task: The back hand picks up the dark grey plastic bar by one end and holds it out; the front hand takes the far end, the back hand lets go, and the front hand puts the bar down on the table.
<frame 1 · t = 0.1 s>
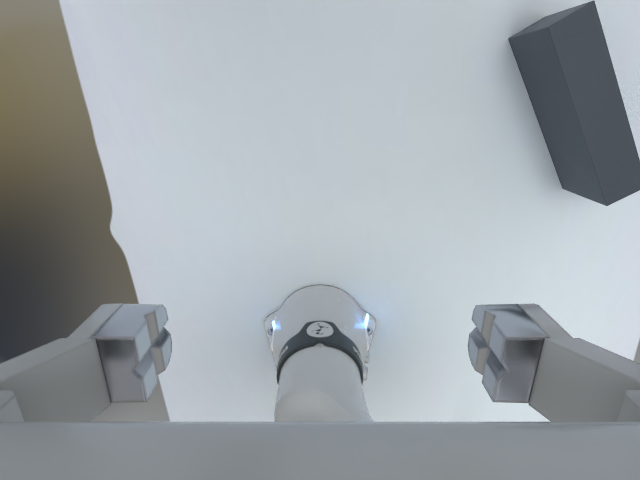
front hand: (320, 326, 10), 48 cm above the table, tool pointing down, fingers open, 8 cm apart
bar: (554, 109, 54), on the table
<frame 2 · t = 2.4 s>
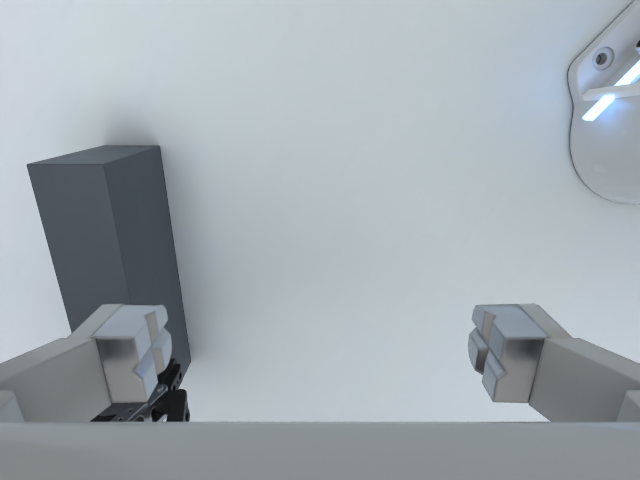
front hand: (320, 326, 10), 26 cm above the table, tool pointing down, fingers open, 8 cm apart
bar: (151, 265, 38), on the table, touching back hand
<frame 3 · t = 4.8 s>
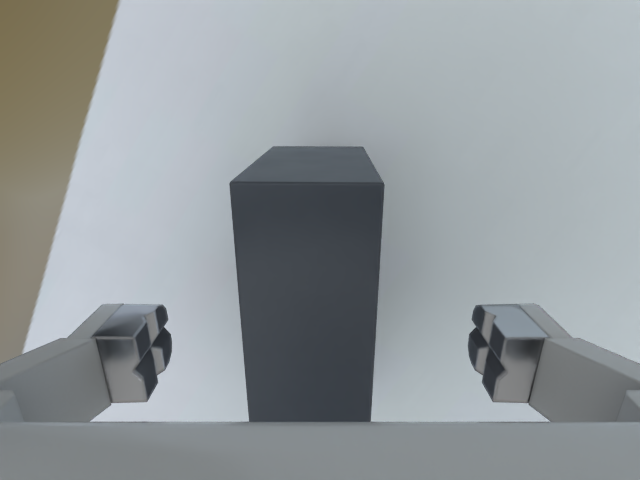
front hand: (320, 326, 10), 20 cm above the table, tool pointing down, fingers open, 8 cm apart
bar: (318, 326, 25), point 7 cm above the table, touching back hand
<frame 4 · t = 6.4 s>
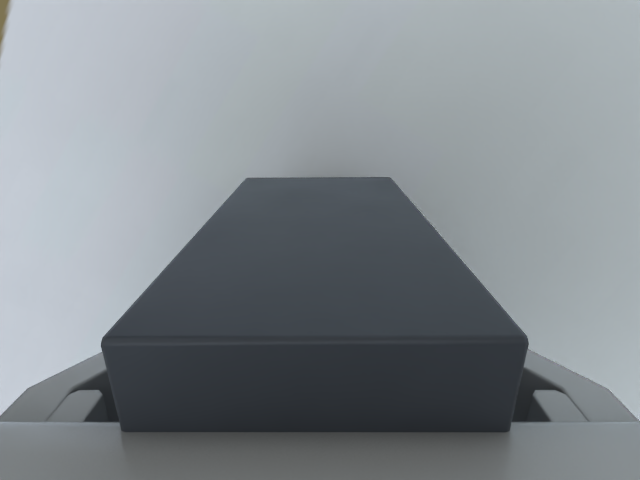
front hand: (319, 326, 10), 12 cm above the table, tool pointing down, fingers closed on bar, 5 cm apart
bar: (319, 432, 17), point 7 cm above the table, touching front hand, back hand
when the back hand's fingers open (12 cm above the table, at t = 7.4 s): bar stays where it is, held by the front hand.
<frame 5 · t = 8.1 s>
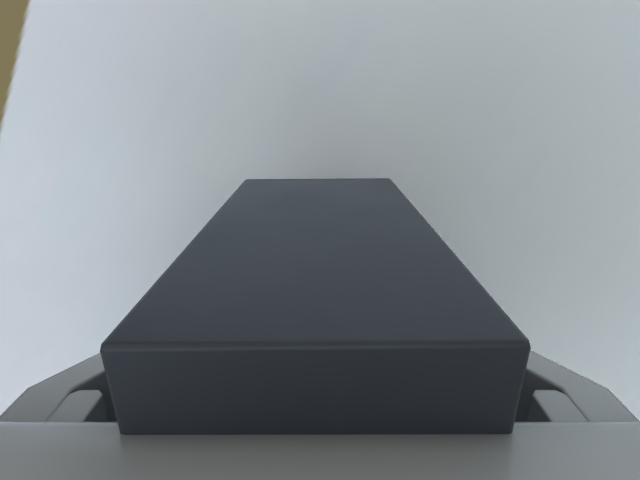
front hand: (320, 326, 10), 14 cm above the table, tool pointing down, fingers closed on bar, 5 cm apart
bar: (320, 433, 17), point 9 cm above the table, touching front hand
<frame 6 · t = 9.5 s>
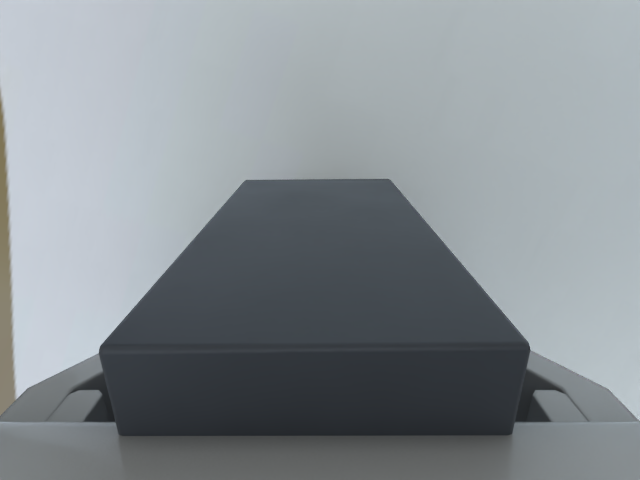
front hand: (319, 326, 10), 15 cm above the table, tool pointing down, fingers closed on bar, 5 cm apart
bar: (319, 434, 17), point 10 cm above the table, touching front hand
when the front hand's fingers open (6 cm above the table, at t = 13.0 s): bar drops 1 cm, on the table.
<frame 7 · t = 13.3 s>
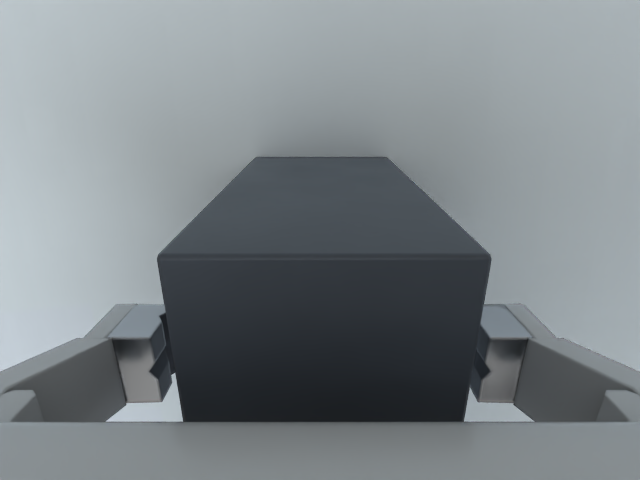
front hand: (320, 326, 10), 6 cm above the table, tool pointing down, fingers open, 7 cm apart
bar: (321, 398, 19), on the table
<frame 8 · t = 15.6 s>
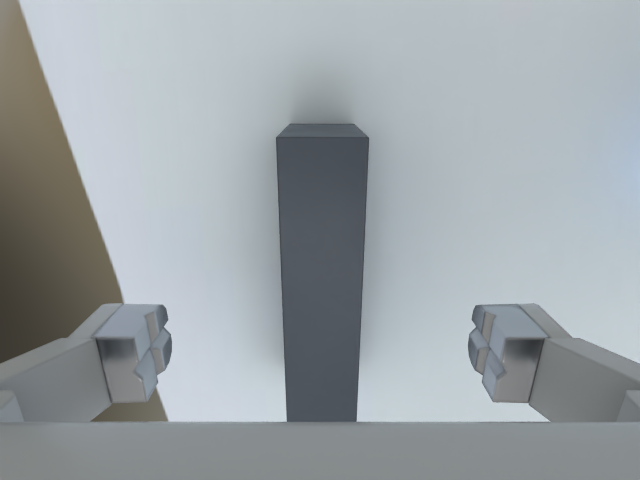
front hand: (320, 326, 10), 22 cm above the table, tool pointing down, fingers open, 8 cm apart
bar: (321, 261, 34), on the table
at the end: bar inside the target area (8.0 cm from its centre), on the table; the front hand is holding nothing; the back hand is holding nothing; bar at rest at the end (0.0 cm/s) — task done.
